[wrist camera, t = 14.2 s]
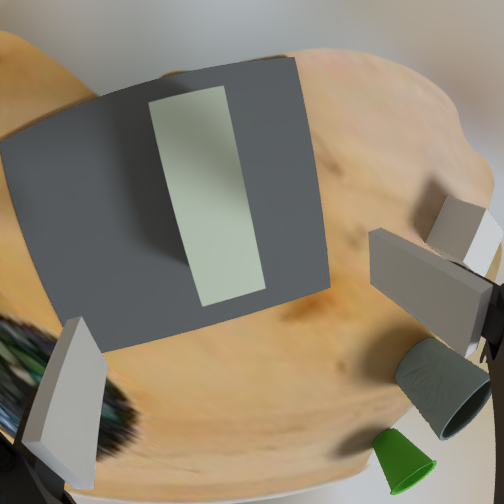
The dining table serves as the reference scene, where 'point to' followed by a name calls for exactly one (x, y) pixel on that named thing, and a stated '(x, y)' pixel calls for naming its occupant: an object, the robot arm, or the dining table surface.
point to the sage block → (208, 193)
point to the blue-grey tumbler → (443, 386)
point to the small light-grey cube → (465, 235)
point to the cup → (401, 460)
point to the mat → (163, 205)
